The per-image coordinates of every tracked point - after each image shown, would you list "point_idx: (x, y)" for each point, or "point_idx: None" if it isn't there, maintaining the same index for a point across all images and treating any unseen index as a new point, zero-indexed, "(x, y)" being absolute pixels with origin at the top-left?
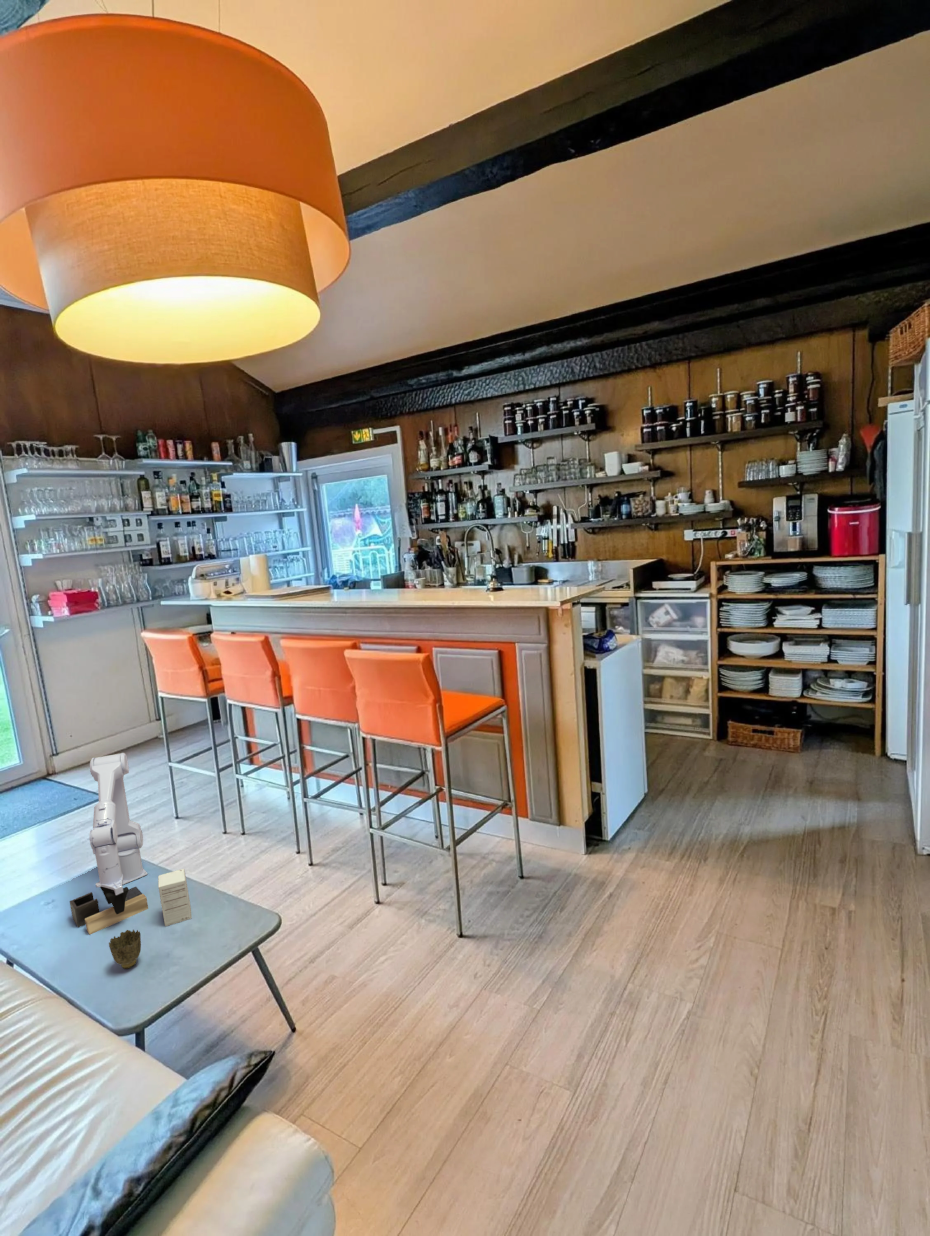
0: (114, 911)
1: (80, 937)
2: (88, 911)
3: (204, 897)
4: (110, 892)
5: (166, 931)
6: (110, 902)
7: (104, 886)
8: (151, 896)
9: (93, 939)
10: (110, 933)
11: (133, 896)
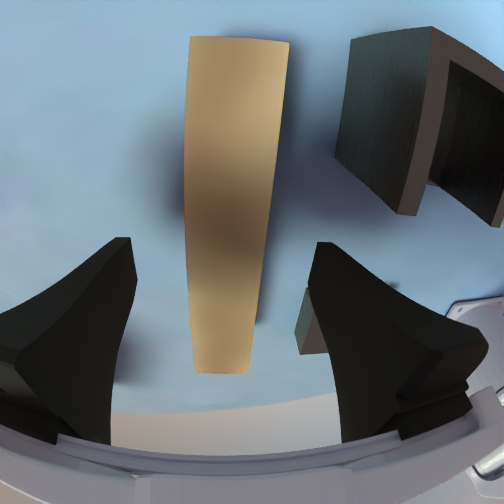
0: (186, 237)
1: (224, 6)
2: (379, 113)
3: (132, 408)
4: (36, 403)
5: (7, 304)
6: (318, 258)
7: (72, 491)
8: (284, 352)
9: (127, 57)
10: (110, 145)
11: (314, 331)
